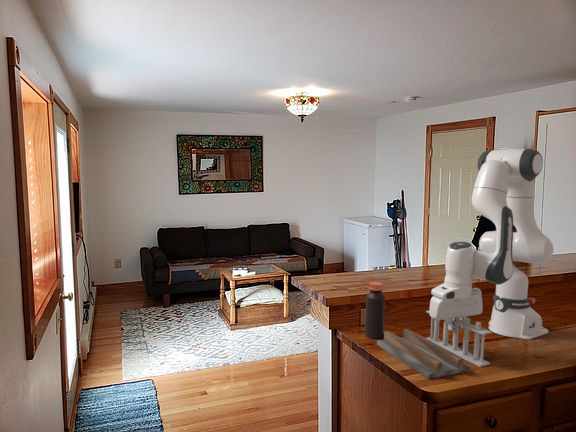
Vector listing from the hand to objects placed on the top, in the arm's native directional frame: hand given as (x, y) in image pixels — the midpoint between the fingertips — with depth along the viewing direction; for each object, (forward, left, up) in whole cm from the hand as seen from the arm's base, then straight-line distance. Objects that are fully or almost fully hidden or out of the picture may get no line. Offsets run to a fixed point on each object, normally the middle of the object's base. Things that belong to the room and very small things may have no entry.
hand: (455, 329), depth 158 cm
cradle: (+14, 0, -8) cm, 16 cm away
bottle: (+18, -22, -8) cm, 30 cm away
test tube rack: (0, 0, -8) cm, 8 cm away
